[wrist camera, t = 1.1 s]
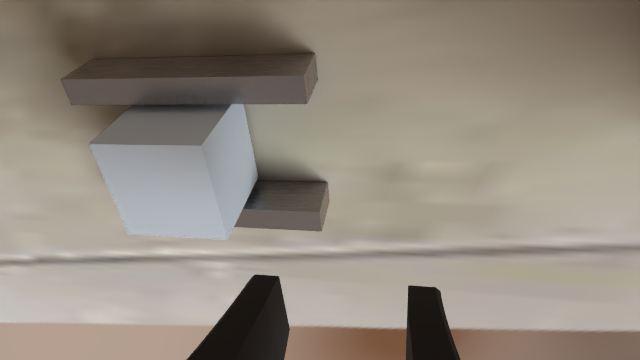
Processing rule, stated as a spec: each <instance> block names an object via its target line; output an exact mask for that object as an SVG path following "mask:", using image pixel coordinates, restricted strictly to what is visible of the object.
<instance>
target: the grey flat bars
mask: <svg viewBox="0 0 640 360" xmlns="http://www.w3.org/2000/svg"><path fill="white" fill-rule="evenodd" d="M317 80H318V79H317V68H316V58H315V54H276V55H238V56H199V57H161V58H123V59H92V60H90V61H89V62H87V63H86V64H84V65H83V66H81V67H79V68H78V69H76V70H75V71H73V72H72V73H70V74H68V75H67V76H65V77H64V78H62V79H61V82H62V84H63V87H64V89H65V91H66V93H67V96H68V98H69V100H70V102H71V105H163V104H307V103H308V101H309V98H310V96H311V94H312V92H313V89H314V87H315V85H316V82H317ZM328 204H329V193H328V183H321V182H287V181H256V183H255V185H254V187H253V189H252V191H251V193H250V195H249V197H248V199H247V201H246V203H245V205H244V207H243V209H242V211H241V213H240V215H239V217H238V220H237V222H236V224H235V226H234V227H247V228H267V229H287V230H307V231H322V228H323V224H324V220H325V216H326V212H327V208H328Z"/></svg>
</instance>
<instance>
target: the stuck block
mask: <svg viewBox="0 0 640 360" xmlns="http://www.w3.org/2000/svg"><path fill="white" fill-rule="evenodd" d="M89 147H90V149H91V151H92V153H93V156H94V158H95V160H96V162H97V165H98V167H99V169H100V171H101V174H102V176H103V178H104V180H105V182H106V185H107V187H108V189H109V191H110V194H111V196H112V198H113V200H114V203H115V205H116V207H117V209H118V212H119V214H120V216H121V218H122V221H123V223H124V225H125V227H126V230H127V232H128V234H131V235H149V236H166V237H184V238H202V239H219V240H228V238H229V236H230V234H231V232H232V230H233V228H234V226H235V224H236V222H237V220H238V217H239V215H240V213H241V211H242V209H243V207H244V205H245V203H246V201H247V199H248V197H249V195H250V193H251V191H252V189H253V187H254V185H255V183H256V181H257V178H258V173H257V168H256V163H255V158H254V153H253V148H252V144H251V139H250V134H249V129H248V124H247V119H246V114H245V109H244V104H163V105H132V106H131V107H130V108H128V109H127V110H126V111H125V112H124V113H123V114H122V115H121V116H119V117H118V118H117V119H116V120H115V121H114V122H113V123H112V124H110V125H109V126H108V127H107V128H106V129H105V130H104V131H103V132H101V133H100V134H99V135H98V136H97V137H96V138H95V139H94V140H92V141H91V142H90V143H89Z"/></svg>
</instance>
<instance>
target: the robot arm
mask: <svg viewBox="0 0 640 360" xmlns="http://www.w3.org/2000/svg"><path fill="white" fill-rule="evenodd" d="M289 330H290V329H289V324H288V319H287V314H286V309H285V304H284V299H283V294H282V289H281V284H280V279H279V276H267V275H254V276H253V277H252V278H251V279H250V280H249V282H248V283H247V284H246V286H245V287H244V289H243V290H242V291H241V293H240V294H239V295H238V297H237V298H236V299H235V301H234V302H233V303H232V305H231V306H230V307H229V309H228V310H227V311H226V312H225V314H224V315H223V316H222V318H221V319H220V320H219V321H218V323H217V324H216V325H215V326H214V328H213V329H212V330H211V331H210V332H209V334H208V335H207V336H206V337H205V339H204V340H203V341H202V342H201V344H200V345H199V346H198V347H197V348H196V350H195V351H194V352H193V353H192V354H191V355H190V357H189V358H188V359H187V360H284V357H285V352H286V346H287V341H288V335H289ZM406 360H460V357H459V355H458V352H457V349H456V346H455V344H454V341H453V338H452V335H451V332H450V329H449V325H448V322H447V319H446V315H445V311H444V307H443V303H442V298H441V292H440V291H439V290H438V289H437V288H436V287H422V286H408V312H407V339H406Z"/></svg>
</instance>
